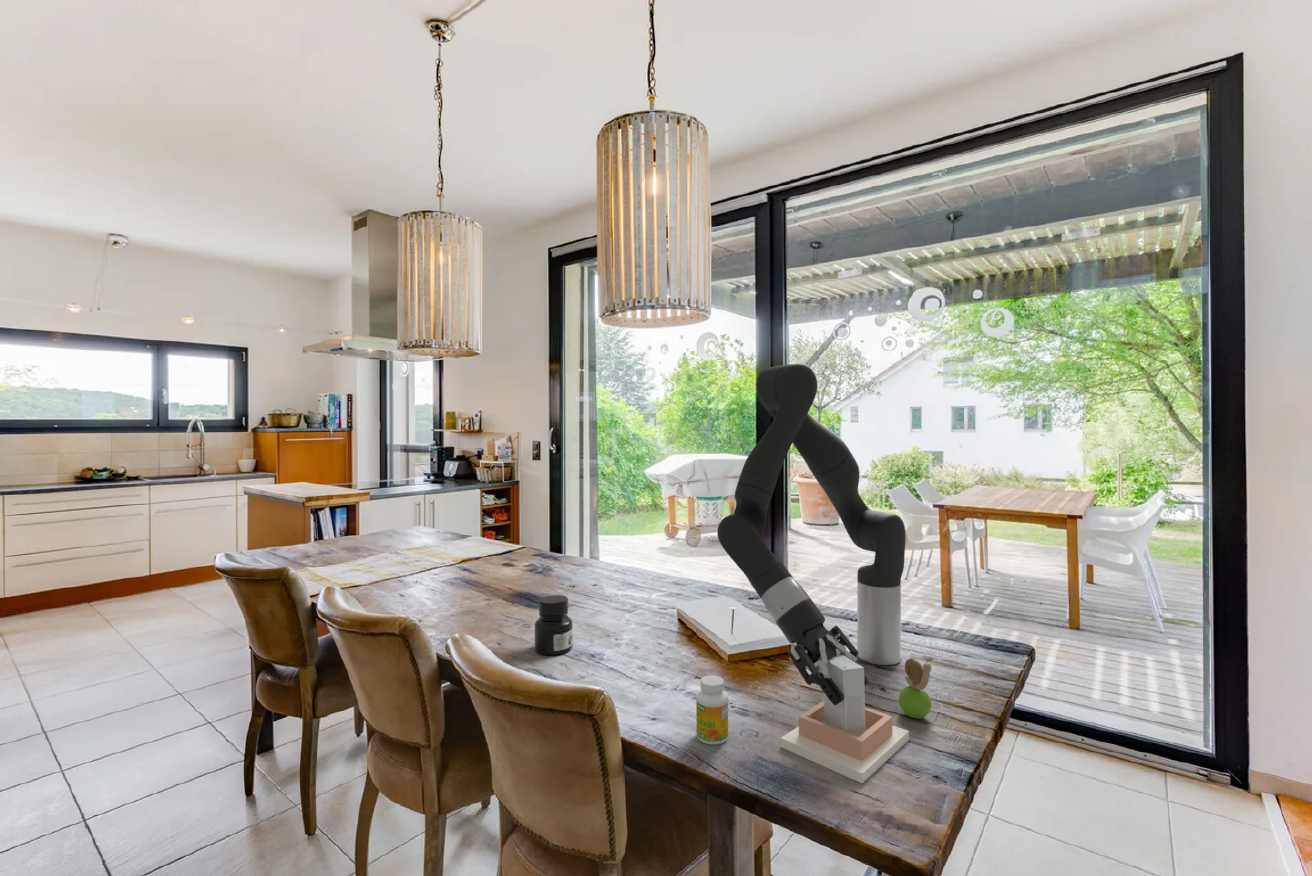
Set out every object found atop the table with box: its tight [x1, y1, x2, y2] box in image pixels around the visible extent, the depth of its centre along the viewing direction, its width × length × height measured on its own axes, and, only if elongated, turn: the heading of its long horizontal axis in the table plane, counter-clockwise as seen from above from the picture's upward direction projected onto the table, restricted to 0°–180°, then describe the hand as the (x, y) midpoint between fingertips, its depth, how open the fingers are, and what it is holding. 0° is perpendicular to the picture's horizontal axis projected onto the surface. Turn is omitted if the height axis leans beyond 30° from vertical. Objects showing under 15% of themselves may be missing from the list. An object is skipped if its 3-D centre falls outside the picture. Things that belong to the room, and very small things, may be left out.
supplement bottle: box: [695, 675, 729, 746], centre depth 99 cm, size 5×5×10 cm
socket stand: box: [780, 699, 910, 784], centre depth 97 cm, size 17×14×4 cm
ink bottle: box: [534, 594, 574, 656], centre depth 139 cm, size 10×9×12 cm
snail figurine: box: [898, 657, 933, 720], centre depth 105 cm, size 5×6×12 cm
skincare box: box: [823, 655, 866, 737], centre depth 97 cm, size 6×4×12 cm
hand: (852, 693), depth 96 cm, fingers open, 8 cm apart
